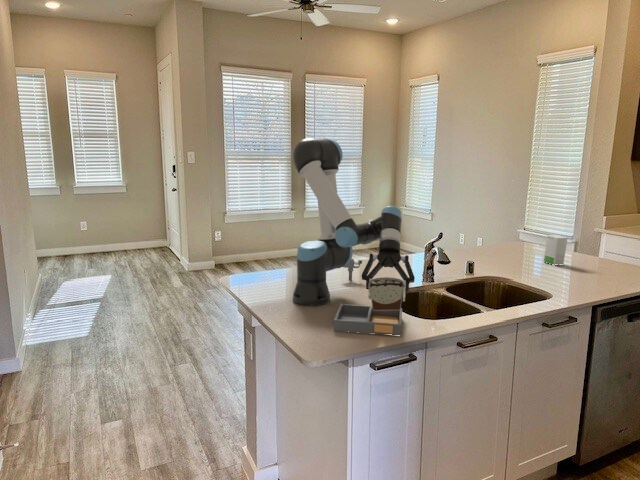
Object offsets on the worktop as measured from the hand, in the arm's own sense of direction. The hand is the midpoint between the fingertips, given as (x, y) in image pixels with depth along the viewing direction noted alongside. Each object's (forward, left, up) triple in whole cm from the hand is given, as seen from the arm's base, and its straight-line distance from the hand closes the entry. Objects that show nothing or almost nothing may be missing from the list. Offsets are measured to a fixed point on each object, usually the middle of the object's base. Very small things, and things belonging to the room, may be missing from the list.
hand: (386, 298), depth 154 cm
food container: (0, +2, -4) cm, 5 cm away
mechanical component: (-19, +57, -11) cm, 61 cm away
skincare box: (+86, +113, -11) cm, 143 cm away
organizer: (-6, +3, -11) cm, 13 cm away
